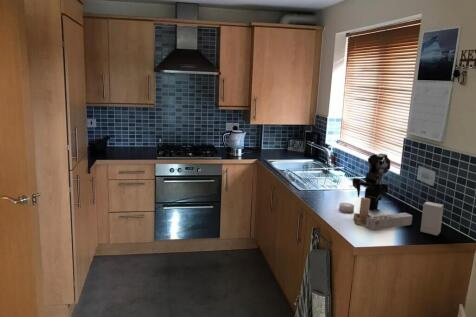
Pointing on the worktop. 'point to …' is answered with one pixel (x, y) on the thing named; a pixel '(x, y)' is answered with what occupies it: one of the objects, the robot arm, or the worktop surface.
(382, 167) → the robot arm
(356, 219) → the tray
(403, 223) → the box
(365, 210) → the brown dome-top cylinder
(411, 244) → the worktop surface
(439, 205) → the skincare box
